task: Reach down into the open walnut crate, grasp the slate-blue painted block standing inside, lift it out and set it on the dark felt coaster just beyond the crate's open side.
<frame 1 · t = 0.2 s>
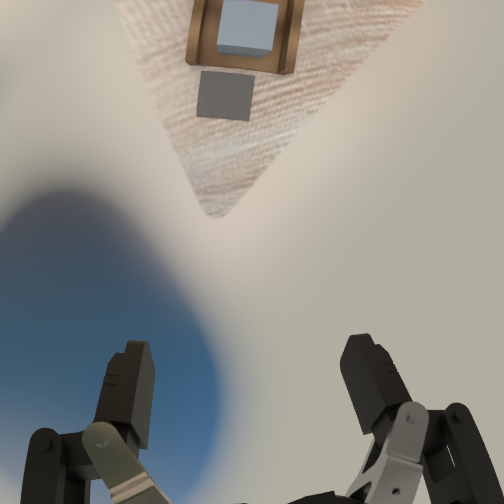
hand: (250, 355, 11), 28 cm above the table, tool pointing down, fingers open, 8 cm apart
coaster: (225, 95, 31), on the table
block: (242, 36, 27), point 1 cm above the table, touching crate
crate: (244, 18, 26), on the table
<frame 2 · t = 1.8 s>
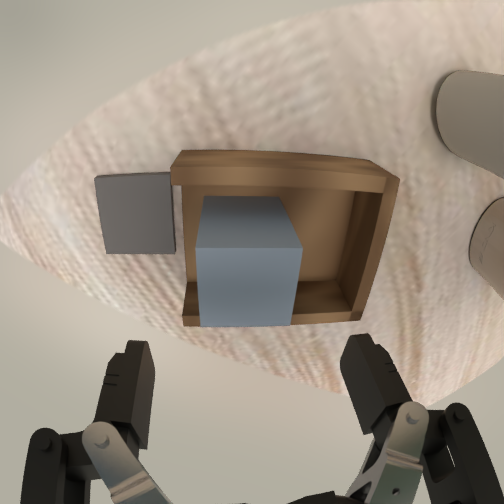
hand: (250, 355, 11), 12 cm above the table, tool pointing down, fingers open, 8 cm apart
coaster: (136, 213, 20), on the table
block: (240, 229, 21), point 1 cm above the table, touching crate
can: (460, 112, 18), on the table
crate: (274, 226, 22), on the table
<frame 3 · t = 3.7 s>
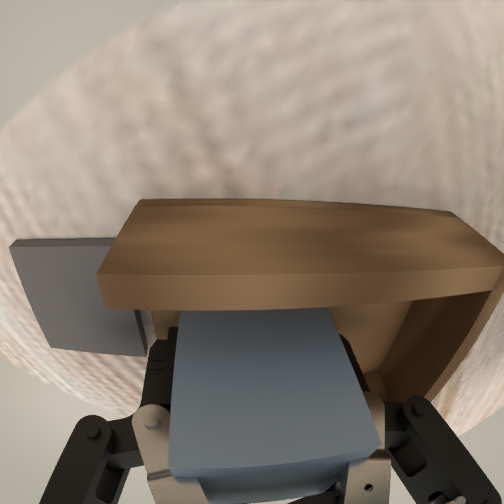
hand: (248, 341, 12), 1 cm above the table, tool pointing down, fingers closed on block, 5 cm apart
coaster: (80, 298, 12), on the table
block: (247, 328, 13), point 1 cm above the table, touching crate, gripper
crate: (301, 316, 13), on the table
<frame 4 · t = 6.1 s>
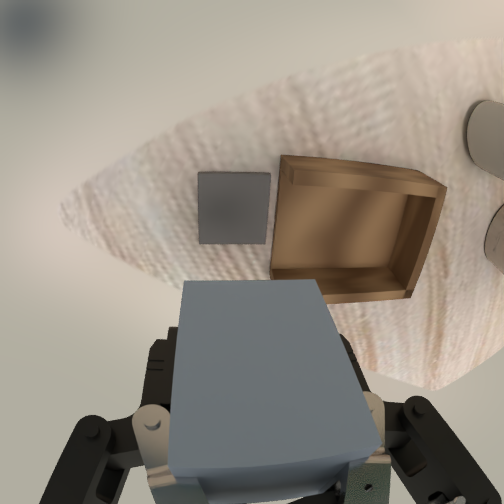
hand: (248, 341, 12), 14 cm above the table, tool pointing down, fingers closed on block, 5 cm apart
coaster: (233, 207, 24), on the table
block: (247, 327, 13), point 13 cm above the table, touching gripper
can: (482, 133, 22), on the table
crate: (346, 221, 26), on the table
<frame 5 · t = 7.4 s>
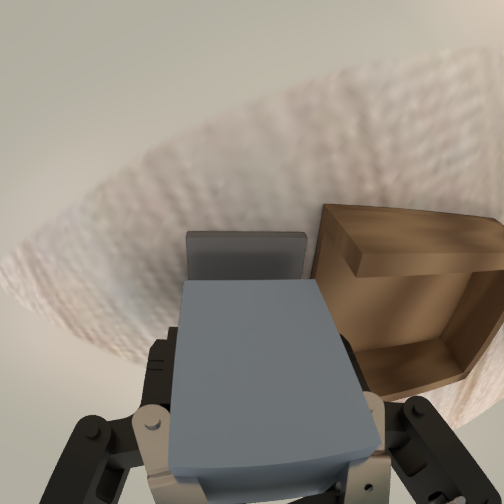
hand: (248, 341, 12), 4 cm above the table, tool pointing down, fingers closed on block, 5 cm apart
coaster: (244, 284, 16), on the table
block: (247, 327, 13), point 3 cm above the table, touching gripper
crate: (403, 292, 17), on the table
when the fingers open (3 cm above the table, at t = 8.5 s): block drops 2 cm, resting on coaster.
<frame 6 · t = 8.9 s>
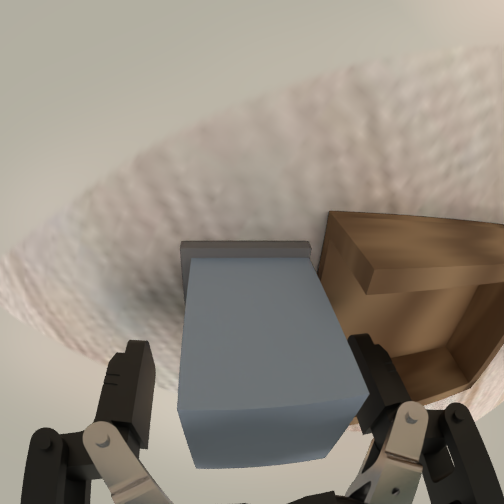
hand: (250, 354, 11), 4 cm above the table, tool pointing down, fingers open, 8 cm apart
coaster: (243, 296, 14), on the table
block: (248, 303, 14), point 1 cm above the table, touching coaster
crate: (409, 301, 16), on the table
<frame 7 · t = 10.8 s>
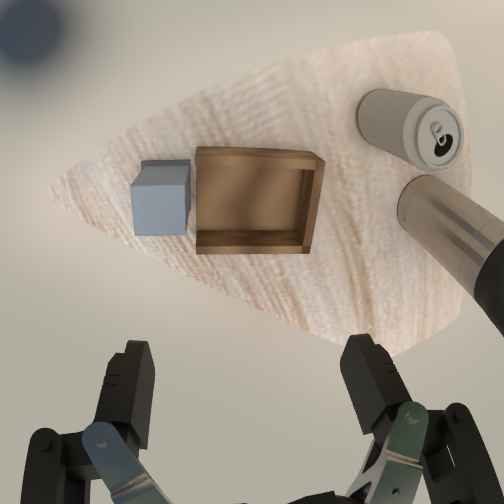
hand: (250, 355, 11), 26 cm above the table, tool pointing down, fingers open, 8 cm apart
coaster: (166, 185, 33), on the table
block: (167, 186, 32), point 1 cm above the table, touching coaster
can: (380, 117, 32), on the table
crate: (252, 193, 35), on the table
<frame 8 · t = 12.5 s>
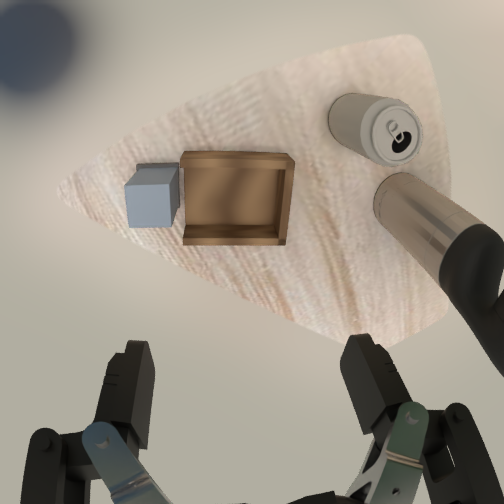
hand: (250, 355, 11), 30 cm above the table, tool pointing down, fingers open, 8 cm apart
coaster: (158, 185, 38), on the table
block: (159, 186, 37), point 1 cm above the table, touching coaster
can: (351, 119, 36), on the table
crate: (234, 192, 39), on the table
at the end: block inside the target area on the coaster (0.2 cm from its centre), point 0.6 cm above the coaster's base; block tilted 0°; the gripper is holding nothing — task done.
